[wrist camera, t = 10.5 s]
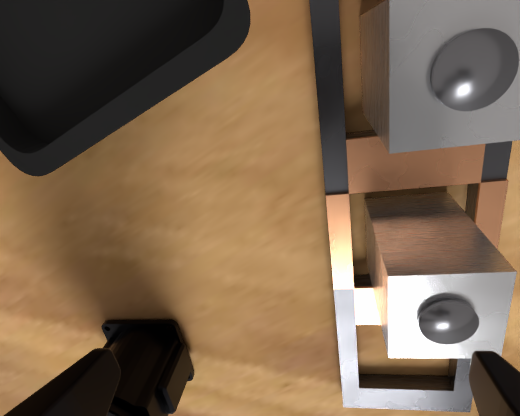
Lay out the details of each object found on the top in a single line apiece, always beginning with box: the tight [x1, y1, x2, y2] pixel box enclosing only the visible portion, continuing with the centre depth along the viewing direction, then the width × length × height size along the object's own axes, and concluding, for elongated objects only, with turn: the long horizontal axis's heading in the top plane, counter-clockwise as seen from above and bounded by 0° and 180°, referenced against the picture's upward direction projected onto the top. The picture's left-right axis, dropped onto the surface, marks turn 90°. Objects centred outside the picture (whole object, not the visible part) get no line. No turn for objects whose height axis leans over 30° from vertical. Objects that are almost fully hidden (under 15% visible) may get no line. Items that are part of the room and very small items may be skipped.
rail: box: [309, 0, 512, 412], centre depth 20 cm, size 30×9×1 cm, turn 9°
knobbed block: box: [364, 192, 517, 358], centre depth 17 cm, size 4×4×8 cm
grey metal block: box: [359, 0, 520, 154], centre depth 13 cm, size 4×4×8 cm
